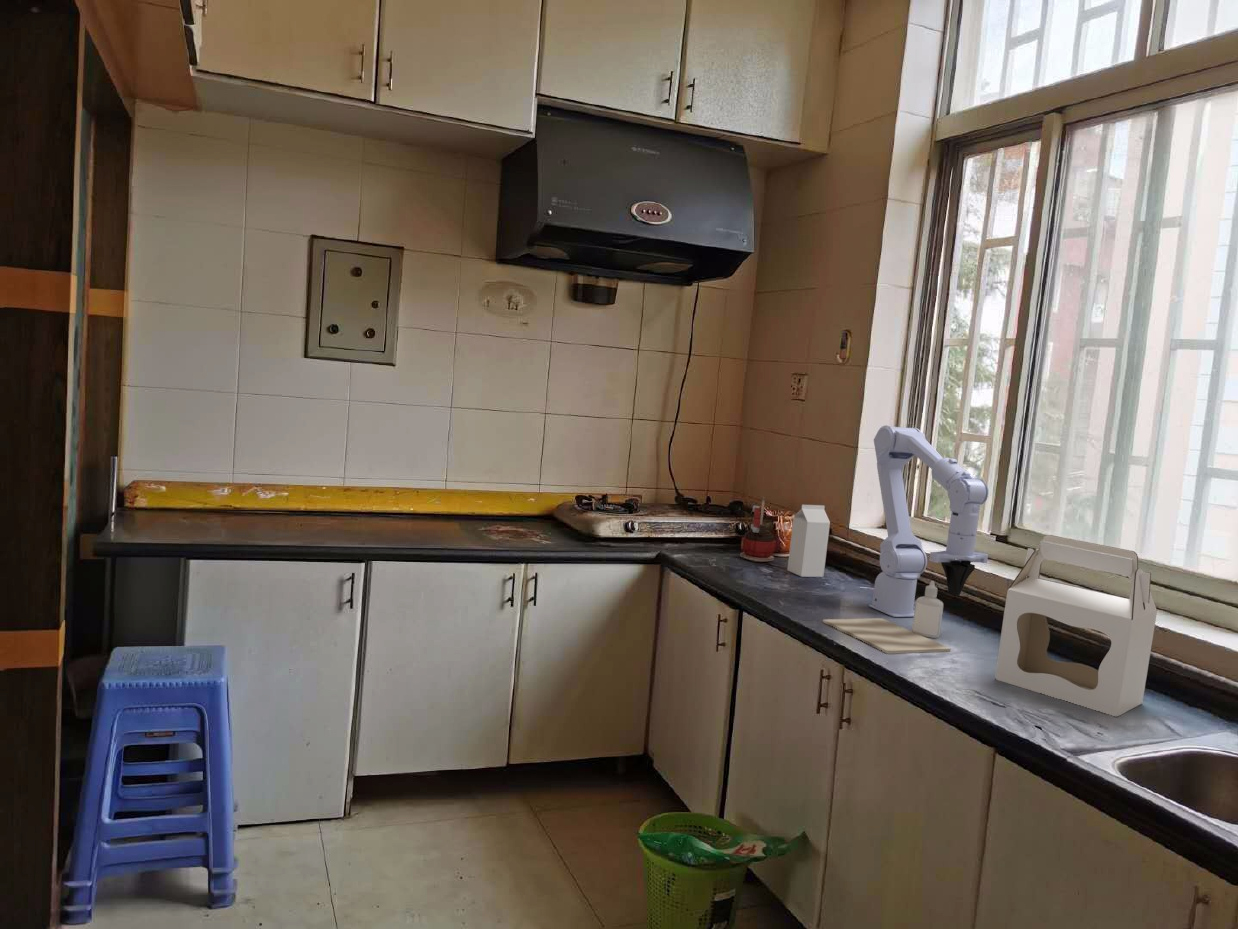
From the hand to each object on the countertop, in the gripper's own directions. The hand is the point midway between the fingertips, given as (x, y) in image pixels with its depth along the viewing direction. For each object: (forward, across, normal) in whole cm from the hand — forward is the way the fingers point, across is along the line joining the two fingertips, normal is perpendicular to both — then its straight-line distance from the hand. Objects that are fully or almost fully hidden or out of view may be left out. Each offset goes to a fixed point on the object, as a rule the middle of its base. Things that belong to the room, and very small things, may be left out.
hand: (953, 594), depth 209 cm
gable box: (+9, -4, -35) cm, 36 cm away
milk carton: (+9, 0, +55) cm, 56 cm away
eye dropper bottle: (+9, -6, 0) cm, 11 cm away
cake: (+9, -5, +72) cm, 73 cm away
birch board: (+9, -17, 0) cm, 20 cm away
